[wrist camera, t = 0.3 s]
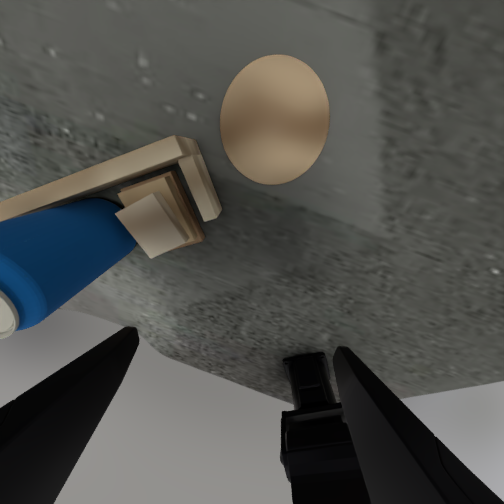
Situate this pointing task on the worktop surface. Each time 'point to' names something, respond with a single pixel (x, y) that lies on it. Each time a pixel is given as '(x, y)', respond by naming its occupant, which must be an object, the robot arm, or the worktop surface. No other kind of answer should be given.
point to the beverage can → (55, 258)
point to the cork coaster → (274, 119)
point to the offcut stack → (159, 215)
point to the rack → (123, 179)
